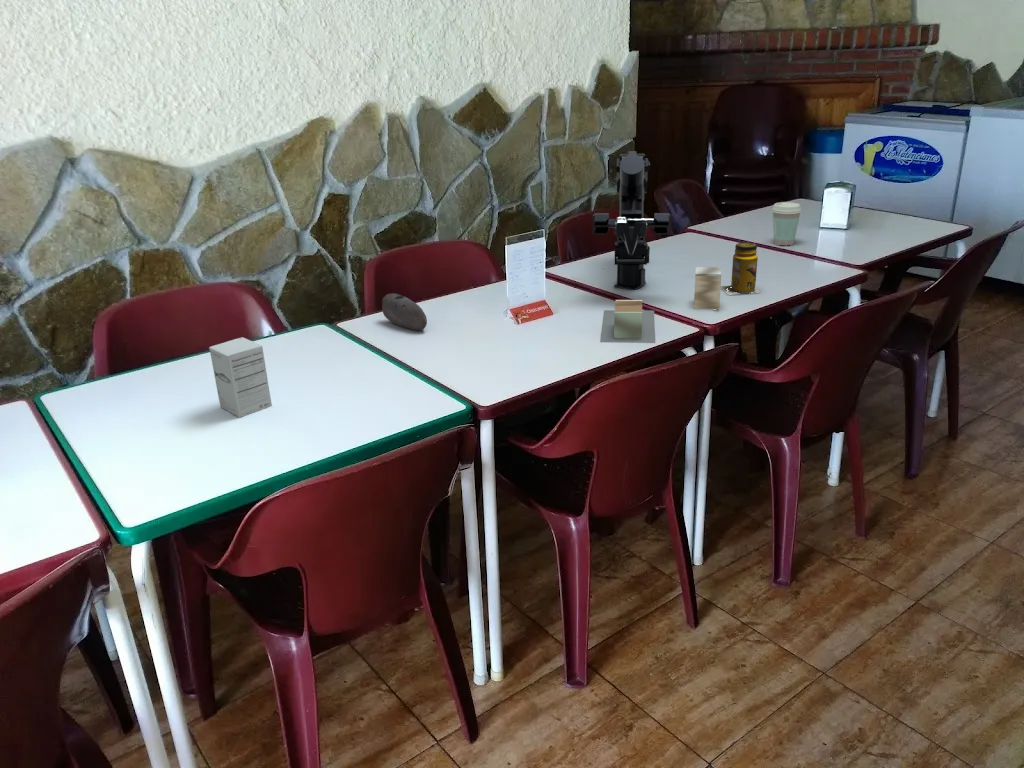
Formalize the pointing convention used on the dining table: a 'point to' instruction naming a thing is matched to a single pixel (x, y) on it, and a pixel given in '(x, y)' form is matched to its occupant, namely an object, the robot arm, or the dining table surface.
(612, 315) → the mat
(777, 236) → the coffee cup
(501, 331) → the dining table surface
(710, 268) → the beech block
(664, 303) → the dining table surface
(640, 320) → the small carton
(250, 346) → the supplement box
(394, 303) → the perforated stone tool
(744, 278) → the condiment
